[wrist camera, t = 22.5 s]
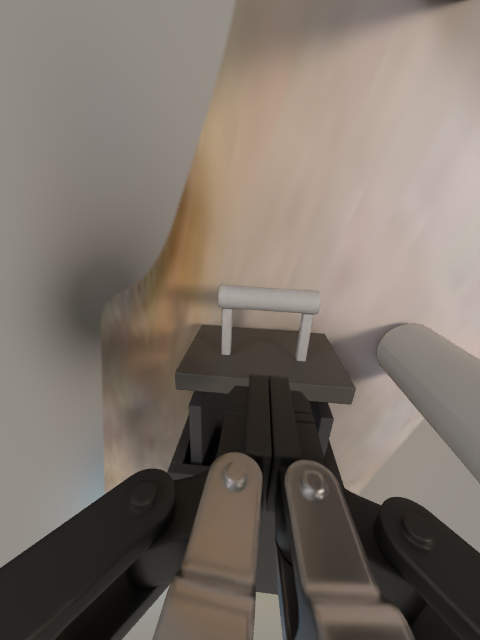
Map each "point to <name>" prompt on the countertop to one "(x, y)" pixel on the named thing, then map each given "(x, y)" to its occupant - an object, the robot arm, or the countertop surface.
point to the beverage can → (437, 385)
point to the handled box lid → (259, 364)
